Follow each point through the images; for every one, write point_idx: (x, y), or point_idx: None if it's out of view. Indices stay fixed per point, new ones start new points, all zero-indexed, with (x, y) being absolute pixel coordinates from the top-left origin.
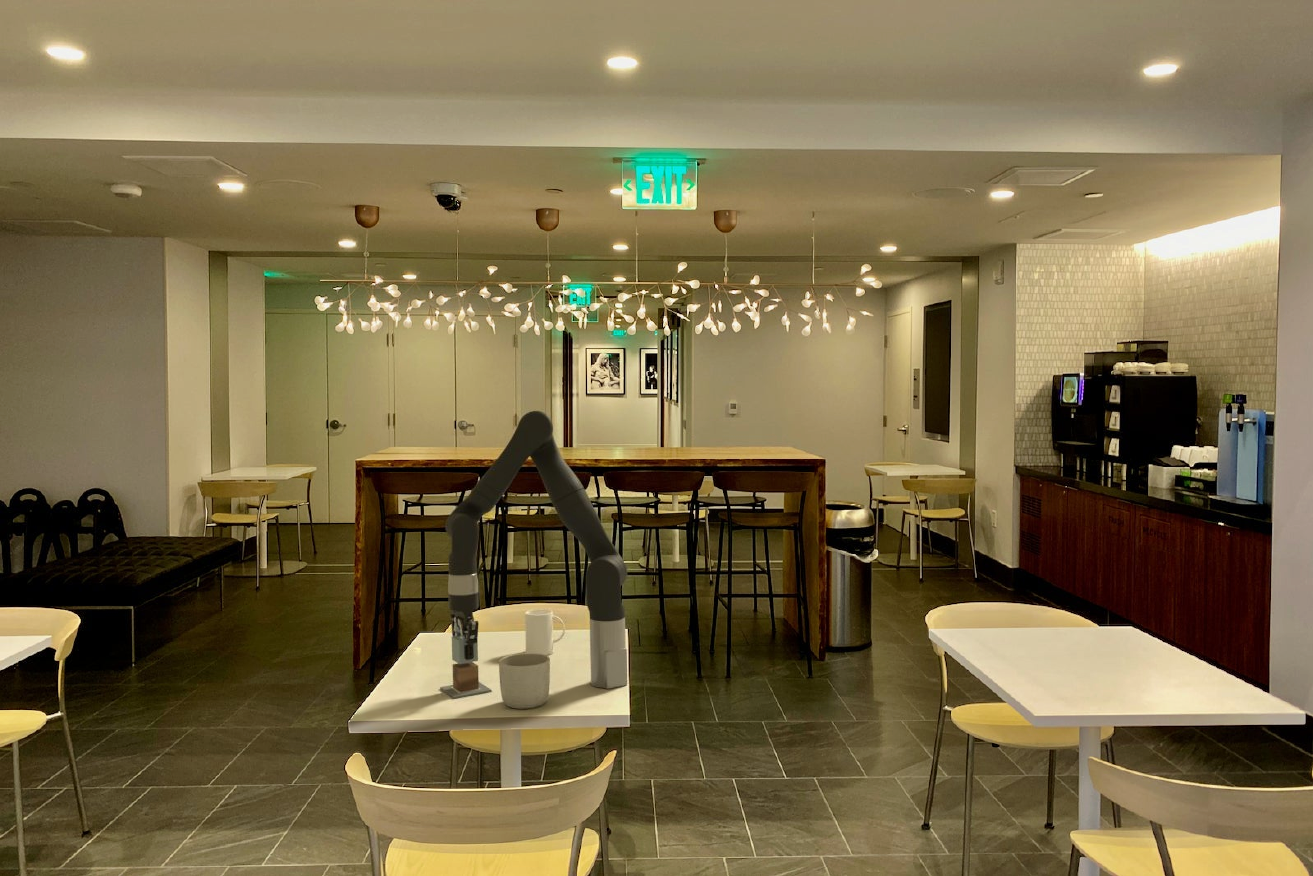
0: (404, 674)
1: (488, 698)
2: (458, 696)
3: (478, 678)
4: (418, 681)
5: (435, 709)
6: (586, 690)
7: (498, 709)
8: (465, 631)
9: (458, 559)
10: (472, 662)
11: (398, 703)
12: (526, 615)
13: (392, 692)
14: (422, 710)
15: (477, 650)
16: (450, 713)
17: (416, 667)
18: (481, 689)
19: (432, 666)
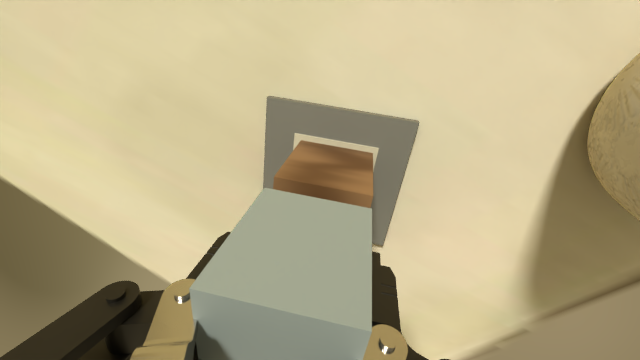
0: (73, 205)
1: (474, 171)
2: (386, 233)
3: (372, 169)
4: (156, 215)
5: (423, 310)
6: None
7: (613, 215)
8: (190, 356)
9: None
10: (299, 184)
11: None
12: None
13: None
14: (402, 327)
15: (370, 248)
16: (489, 308)
17: (8, 148)
18: (384, 147)
19: (7, 106)
